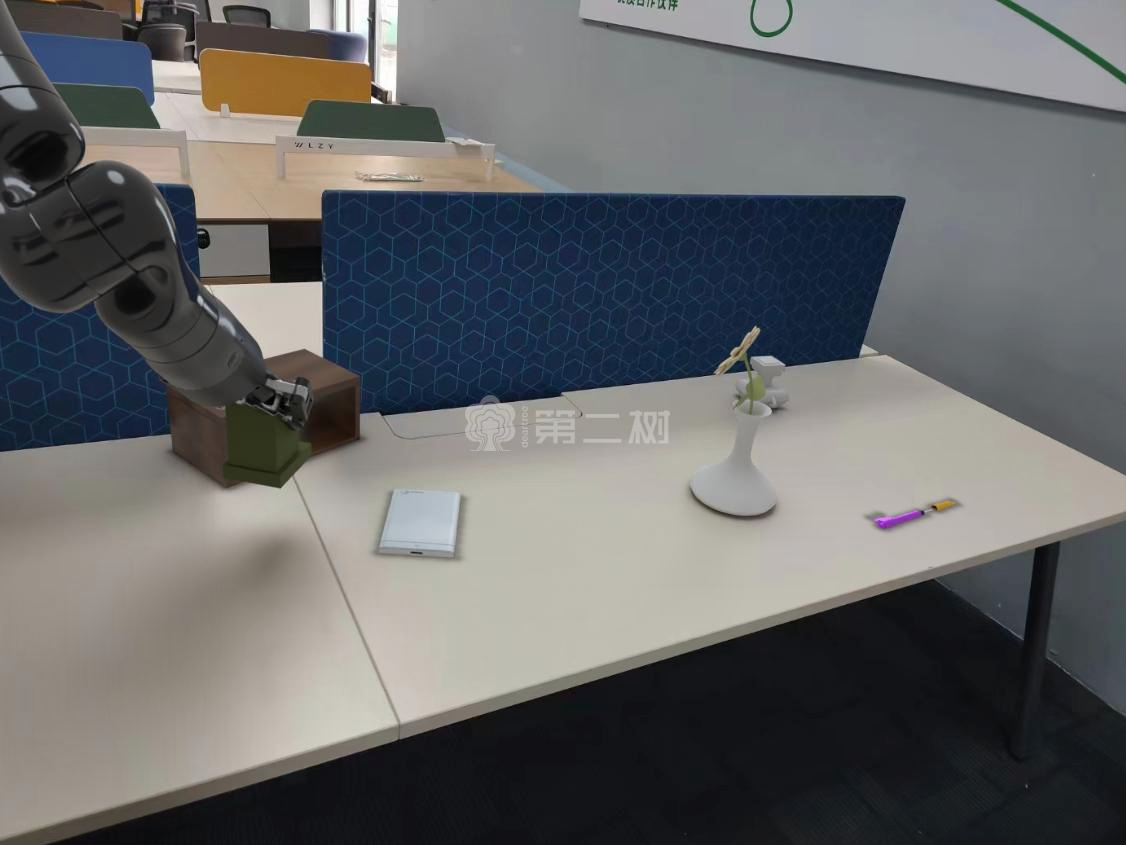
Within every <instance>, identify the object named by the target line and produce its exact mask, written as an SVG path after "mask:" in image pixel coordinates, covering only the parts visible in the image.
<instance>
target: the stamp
mask: <svg viewBox="0 0 1126 845" xmlns="http://www.w3.org/2000/svg"><path fill="white" fill-rule="evenodd" d="M749 365H751V369H752V370H754V371H755V372H756V373H757V376H759V375H760V374H761V375H762V378H763V382H764V386H765V391H766V394H765V396H764V397H762V398H761V399H759V400H756V401H758V402H761V403H763V404H765V405H767V406H768V407H769V408H770V409H778V408H779V407H781V406H783V405H785V404H787V402H789V401H790V395H789V393H788V392H787V390H785V389H784V388H782V387H781V386H780V385H779V384H778V383H776V382H775V381H774V380H773V379H774V378H775V377H781V376H782V374H783V373H785V372H786V364H785V363H783V362H782V361H780V360H779V359H777V358H776V357H774V356H773V355H764V356H763V355H762V356H760V355H759V356H751V357H750V360H749ZM753 379H754V378H752V380H753ZM749 382H750V380H749V378H740V379H738V380H737V381H735V384H734V387H735V389H736V391H737V393H738V395H739V397H740V399H741V398H742V397H743V396H744V395H745V394H747V391H746V385H747V384H748V383H749ZM747 399H748V400H750V398H749V397H748V398H747Z"/></svg>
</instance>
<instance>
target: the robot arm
mask: <svg viewBox="0 0 1126 845" xmlns="http://www.w3.org/2000/svg"><path fill="white" fill-rule="evenodd" d="M77 120H78V119H77V118H76V117H75V116H74V114H73V113H72V111H71V110H70V108H69V107H68V105H67V103H66V102H65V100H64V99H63V98H62V96H61V95H60V93H59V92H58V90H57V89H56V87H55V86H54V84H53V83H52V81H51V79H50V78H49V77H48V76H47V74H46V72H45V71H44V69H43V67H42V66H41V65H40V63H39V62H38V61H37V58H35V56H34V55H33V53H32V51H31V50H30V48H29V46H28V45H27V43H26V42H25V40H24V38H23V36H22V34H21V32H20V30H19V29H18V27H17V25H16V23H15V21H14V19H13V17H12V15H11V13H10V11H9V8H8V5H7V3H6V1H5V0H0V277H1V279H2V280H3V281H4V283H5V284H6V285H7V286H8V287H9V289H10V290H11V291H12V292H13V293H14V294H15V295H16V296H18V297H19V298H20V299H21V300H23V301H24V302H26V303H27V304H29V305H30V306H33V307H34V308H36V309H39V310H41V311H43V312H47V313H51V314H60V315H65V314H70V313H74V312H77V311H79V310H81V309H83V308H85V307H88V306H89V305H91V304H92V303H93V304H94V308H95V311H96V314H97V315H98V317H99V319H100V320H101V322H102V323H103V324H104V326H105V327H107V329H109V331H111V332H112V333H113V334H114V335H115V336H117V338H119V339H120V340H122V342H124V343H125V344H126V345H127V346H129V347H130V348H131V349H132V350H134V351H135V352H136V353H137V354H138V355H139V356H140V357H141V359H142V360H143V361H144V362H145V364H146V365H147V366H148V367H149V368H150V369H151V370H153V371H154V372H155V373H156V374H157V375H158V376H159V377H158V381H160V382H161V383H163V384H164V385H165V386H166V385H168V386H170V387H171V388H173V389H174V390H176V391H178V392H179V393H181V394H183V395H184V396H186V397H187V398H188V399H189V400H191V401H192V402H194V403H196V404H199V405H202V406H206V407H216V408H217V409H219V410H225V406H227V405H230V404H233V403H235V402H236V403H238V404H239V405H241V406H248V407H250V408H252V409H253V410H255V411H257V412H259V413H260V414H262V415H275V416H276V417H278V418H279V419H280V420H281V421H282V422H283V423H284V424H285V425H286V426H287V427H288V428H289V429H290V430H292V431H299V430H300V428H303V426H304V423H305V422H307V419H308V416H309V413H310V410H311V407H312V403H313V400H314V396H313V392H312V388H311V384H310V381H309V380H308V379H306V378H304V377H297V378H296V381H295V380H293V381H292V383H287V382H283V381H282V380H280V379H279V378H278V376H277V375H276V374H275V373H274V372H272V371H270V370H269V369H267V368H266V367H265V363H264V359H265V358H264V355H263V351H262V348H261V346H260V344H259V343H258V341H257V340H256V338H254V337H253V335H252V334H251V333H250V332H249V331H248V330H247V328H246V326H244V325H243V324H242V323H241V321H240V320H239V319H238V318H237V317H236V315H235V314H234V313H233V312H232V311H231V310H230V309H229V308H228V306H227V305H226V304H225V303H224V302H222V300H220V299H219V298H218V297H216V296H215V295H214V294H212V293H211V292H210V291H209V290H208V288H207V287H206V286H205V285H204V283H202V282H201V280H199V278H198V277H197V276H196V274H195V273H194V272H193V270H191V268H190V267H189V265H188V263H187V262H186V259H185V256H184V252H183V249H182V245H181V242H180V238H179V234H178V230H177V226H176V223H175V221H174V218H173V216H172V213H171V211H170V208H169V206H168V204H167V202H166V200H165V198H164V196H163V195H162V194H161V192H160V190H159V189H158V187H157V186H156V185H155V183H154V182H153V181H152V180H151V179H150V178H149V177H148V176H147V175H146V174H144V173H143V172H142V171H140V170H138V169H137V168H135V167H133V166H132V165H129V164H127V163H125V162H121V161H116V160H110V159H102V160H96V161H93V162H90V163H87V164H86V165H84V166H82V167H80V166H81V164H82V162H83V160H84V157H85V154H86V151H87V150H86V148H87V143H86V138H85V135H84V134H85V133H84V131H83V129H82V127H81V125H80V124H79V122H78V121H77ZM79 167H80V168H79ZM281 398H283V399H284V401H283V404H282V407H281V409H280V407H279V404H280V401H281ZM263 402H264V404H263Z"/></svg>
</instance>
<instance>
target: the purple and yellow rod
mask: <svg viewBox="0 0 1126 845" xmlns="http://www.w3.org/2000/svg"><path fill="white" fill-rule="evenodd" d="M953 505H954V506H955V505H956V502H955V501H952V500H951V501H950V500H947V501H943V502H939V503H934V504H932V505H930V509H927V510H923V509H918V510H914V511H911V512H908V513H904V514H901V515H899V516H895V517H891V516H886V517H880V518H876V519H873V521H874V522H875V523H877V527H878V528H880V529H882V530H883V529H889V528H892V527H894V526H895V527H896V526H897V525H899V524H902V523H905V522H908V521H912V520H914V519H918V518H920V517H922V516H924V515H925V514H926V513H929V512H931V511H935V510H937V512H939V511H943V510H945V509H946V508H951V507H953ZM932 507H933V508H932Z"/></svg>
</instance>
